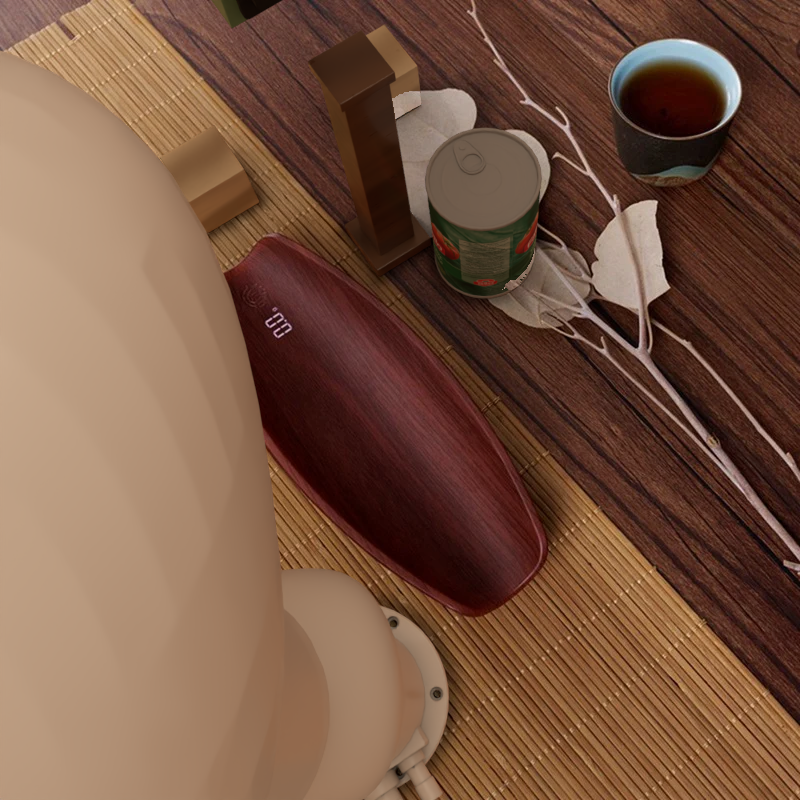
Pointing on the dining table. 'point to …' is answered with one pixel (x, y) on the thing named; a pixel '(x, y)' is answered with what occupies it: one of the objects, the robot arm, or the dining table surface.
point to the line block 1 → (210, 178)
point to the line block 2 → (396, 61)
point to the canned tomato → (483, 210)
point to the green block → (230, 12)
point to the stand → (369, 151)
